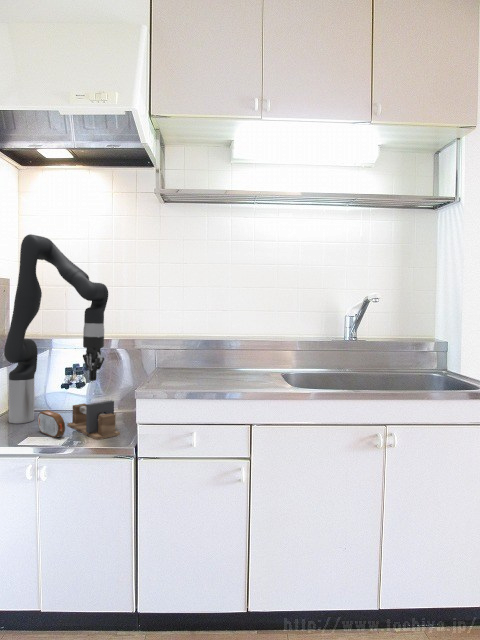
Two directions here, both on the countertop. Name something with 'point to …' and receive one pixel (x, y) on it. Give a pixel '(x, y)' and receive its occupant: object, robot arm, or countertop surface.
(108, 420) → the rod stand
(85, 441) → the countertop surface
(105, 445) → the countertop surface
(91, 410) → the dark grey square plate
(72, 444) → the countertop surface
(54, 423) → the tin
